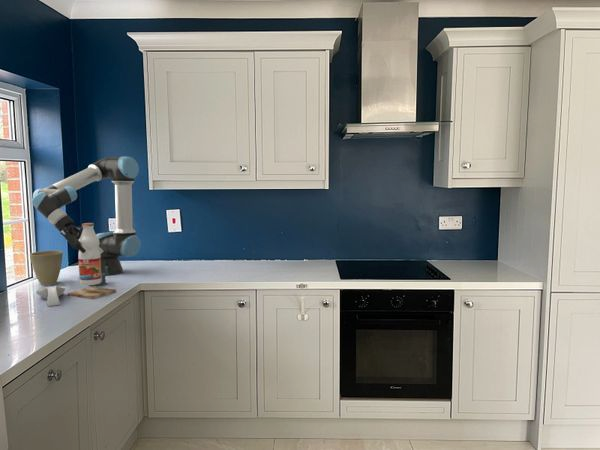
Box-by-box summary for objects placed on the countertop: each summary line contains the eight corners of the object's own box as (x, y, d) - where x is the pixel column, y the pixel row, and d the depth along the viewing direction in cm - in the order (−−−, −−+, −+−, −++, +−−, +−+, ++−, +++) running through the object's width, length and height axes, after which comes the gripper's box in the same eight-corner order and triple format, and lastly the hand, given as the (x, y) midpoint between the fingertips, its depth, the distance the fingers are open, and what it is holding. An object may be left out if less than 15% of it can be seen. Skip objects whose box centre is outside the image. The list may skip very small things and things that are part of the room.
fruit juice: (105, 281, 228) (102, 222, 225) (96, 285, 219) (93, 224, 216) (85, 281, 228) (82, 222, 225) (75, 285, 219) (72, 224, 216)
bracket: (83, 285, 241) (82, 268, 240) (99, 281, 249) (98, 264, 248) (96, 287, 237) (95, 269, 236) (111, 283, 245) (110, 266, 244)
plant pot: (27, 284, 245) (24, 253, 243) (57, 279, 256) (55, 249, 254) (38, 288, 235) (36, 256, 233) (69, 283, 246) (67, 252, 244)
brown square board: (92, 288, 234) (92, 286, 234) (115, 291, 228) (115, 289, 228) (68, 295, 221) (67, 293, 221) (92, 299, 215) (91, 296, 215)
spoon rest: (36, 296, 222) (35, 280, 221) (64, 292, 228) (63, 277, 227) (38, 308, 201) (37, 291, 201) (69, 304, 207) (68, 288, 207)
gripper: (68, 223, 233) (102, 256, 233) (41, 229, 211) (78, 265, 212) (78, 212, 232) (112, 245, 232) (52, 217, 210) (89, 253, 211)
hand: (96, 255), depth 222 cm, fingers closed on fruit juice, 9 cm apart
